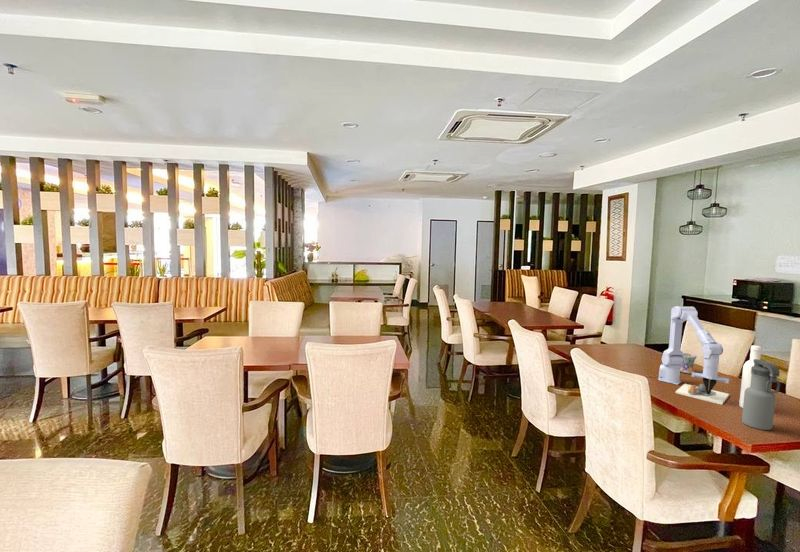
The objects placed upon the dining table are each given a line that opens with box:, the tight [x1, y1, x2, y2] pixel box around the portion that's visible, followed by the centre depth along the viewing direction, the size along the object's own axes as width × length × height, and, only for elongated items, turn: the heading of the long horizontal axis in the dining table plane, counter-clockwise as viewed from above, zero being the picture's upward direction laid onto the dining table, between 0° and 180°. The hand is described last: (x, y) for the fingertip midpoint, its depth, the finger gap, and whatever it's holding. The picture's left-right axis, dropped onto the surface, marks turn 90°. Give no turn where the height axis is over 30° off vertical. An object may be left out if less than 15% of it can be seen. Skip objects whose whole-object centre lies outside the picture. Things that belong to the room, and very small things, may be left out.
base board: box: [675, 383, 730, 406], centre depth 204 cm, size 19×18×5 cm
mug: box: [680, 352, 698, 375], centre depth 242 cm, size 12×9×11 cm
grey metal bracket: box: [688, 384, 716, 396], centre depth 203 cm, size 13×8×4 cm, turn 111°
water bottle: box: [741, 359, 781, 431], centre depth 168 cm, size 10×10×28 cm
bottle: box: [738, 344, 765, 409], centre depth 187 cm, size 8×8×30 cm
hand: (708, 393), depth 198 cm, fingers closed
